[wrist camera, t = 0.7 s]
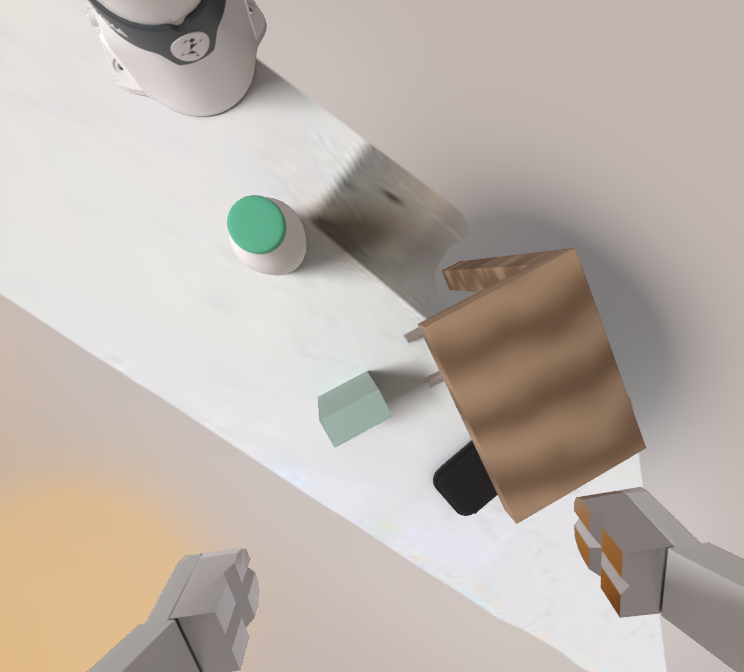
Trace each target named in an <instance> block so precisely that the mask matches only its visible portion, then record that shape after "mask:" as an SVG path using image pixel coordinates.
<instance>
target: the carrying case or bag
mask: <svg viewBox="0 0 744 672" xmlns="http://www.w3.org/2000/svg"><path fill="white" fill-rule="evenodd" d="M433 484H434V486H435V488H436V489H437V490H438V491H439V493H440V494H441V495H442V496H443V497H444V498H445V499H446V501H447V502H448V503H449V504H450V505H451V506H452V507H453V509H454V510H455V511H456V512H457V513H458V514H460V515H463V516H468V515H472V514H476V513H477V512H478V511H479V510H480V509H481V508H482V507H484V506H485V505H486V504H487V503H488V502H489V501H491V500H492V499H493V498H494V497H495V496H496V495H498V494H497V492H496V490H495V488H494V486H493V483H492V481H491V479H490V477H489V475H488V473H487V471H486V469H485V466H484V464H483V462H482V460H481V458H480V456H479V454H478V451H477V449H476V447H475V445H474V443H473V441H471V442H470V443H468V444H467V445H466V446H465V447H464V448H463V449H461V450H460V451H459V452H458V453H457V454H455V455H454V456H453V457H452V458H451V459H450V460H448V461H447V462H446V463H445V464H444V465H442V466H441V467H440V468H439V469H438V470H437V471H436V472H435V474H434V477H433Z"/></svg>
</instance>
